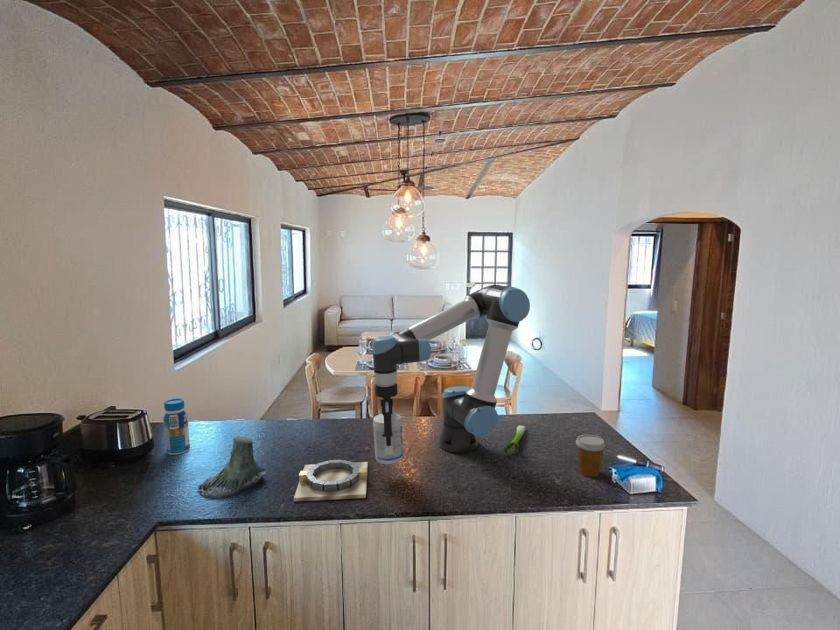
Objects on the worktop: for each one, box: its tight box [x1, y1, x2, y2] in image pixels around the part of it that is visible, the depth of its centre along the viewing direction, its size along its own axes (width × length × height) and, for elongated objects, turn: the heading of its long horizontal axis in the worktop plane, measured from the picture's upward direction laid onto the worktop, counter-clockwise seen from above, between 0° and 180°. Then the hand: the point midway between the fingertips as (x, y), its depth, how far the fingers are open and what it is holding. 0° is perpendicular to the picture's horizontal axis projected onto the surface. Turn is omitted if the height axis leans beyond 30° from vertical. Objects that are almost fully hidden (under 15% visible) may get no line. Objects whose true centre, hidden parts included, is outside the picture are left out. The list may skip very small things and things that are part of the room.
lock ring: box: [298, 459, 368, 492], centre depth 157 cm, size 22×17×2 cm
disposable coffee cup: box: [575, 434, 606, 478], centre depth 162 cm, size 10×10×12 cm
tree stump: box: [197, 435, 267, 499], centre depth 157 cm, size 18×20×18 cm
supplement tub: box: [372, 412, 404, 465], centre depth 159 cm, size 10×10×15 cm
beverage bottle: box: [162, 398, 191, 456], centre depth 181 cm, size 8×8×20 cm
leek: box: [502, 425, 527, 457], centre depth 186 cm, size 6×7×30 cm
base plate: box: [293, 461, 369, 502], centre depth 157 cm, size 22×22×1 cm
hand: (388, 447), depth 160 cm, fingers closed on supplement tub, 10 cm apart
